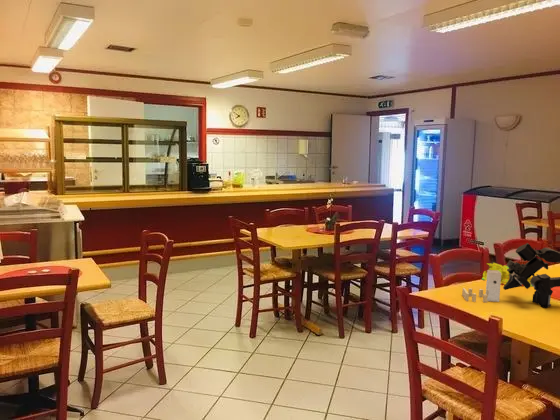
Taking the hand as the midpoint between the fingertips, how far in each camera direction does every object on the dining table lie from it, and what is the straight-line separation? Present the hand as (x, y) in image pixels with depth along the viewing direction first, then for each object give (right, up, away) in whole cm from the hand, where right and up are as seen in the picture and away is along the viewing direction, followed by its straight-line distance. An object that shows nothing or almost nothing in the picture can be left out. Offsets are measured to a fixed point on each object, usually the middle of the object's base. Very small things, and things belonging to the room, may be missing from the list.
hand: (503, 288), depth 222 cm
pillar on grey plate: (-5, -6, +2) cm, 8 cm away
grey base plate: (-9, -6, +3) cm, 11 cm away
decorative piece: (+23, -3, +42) cm, 48 cm away
